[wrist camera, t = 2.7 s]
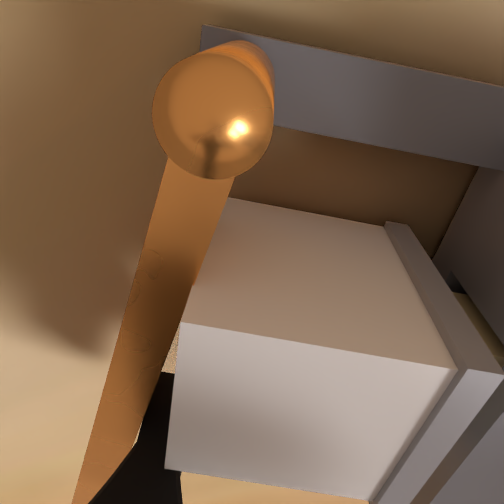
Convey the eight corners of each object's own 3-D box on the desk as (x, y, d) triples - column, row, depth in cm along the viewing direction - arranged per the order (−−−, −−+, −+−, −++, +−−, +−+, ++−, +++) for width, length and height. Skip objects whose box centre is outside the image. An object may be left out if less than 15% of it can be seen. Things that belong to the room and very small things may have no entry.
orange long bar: (217, 27, 7) (169, 30, 4) (285, 58, 7) (293, 84, 4) (104, 412, 13) (48, 537, 10) (144, 423, 13) (102, 550, 10)
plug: (479, 237, 10) (630, 396, 6) (415, 354, 13) (490, 532, 8) (222, 188, 10) (179, 318, 6) (202, 316, 12) (162, 481, 8)
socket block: (684, 123, 9) (1010, 203, 5) (467, 418, 14) (539, 567, 10) (209, 24, 8) (149, 25, 4) (173, 368, 14) (131, 506, 10)
